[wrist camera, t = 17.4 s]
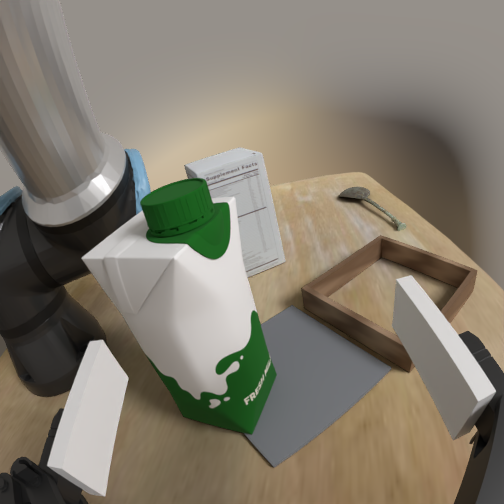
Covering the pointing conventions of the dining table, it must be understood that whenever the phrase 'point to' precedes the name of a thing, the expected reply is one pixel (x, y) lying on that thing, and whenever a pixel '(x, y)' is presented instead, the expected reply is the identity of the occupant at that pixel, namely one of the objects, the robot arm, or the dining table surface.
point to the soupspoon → (363, 194)
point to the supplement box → (245, 203)
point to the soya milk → (190, 302)
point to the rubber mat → (309, 382)
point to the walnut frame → (362, 259)
